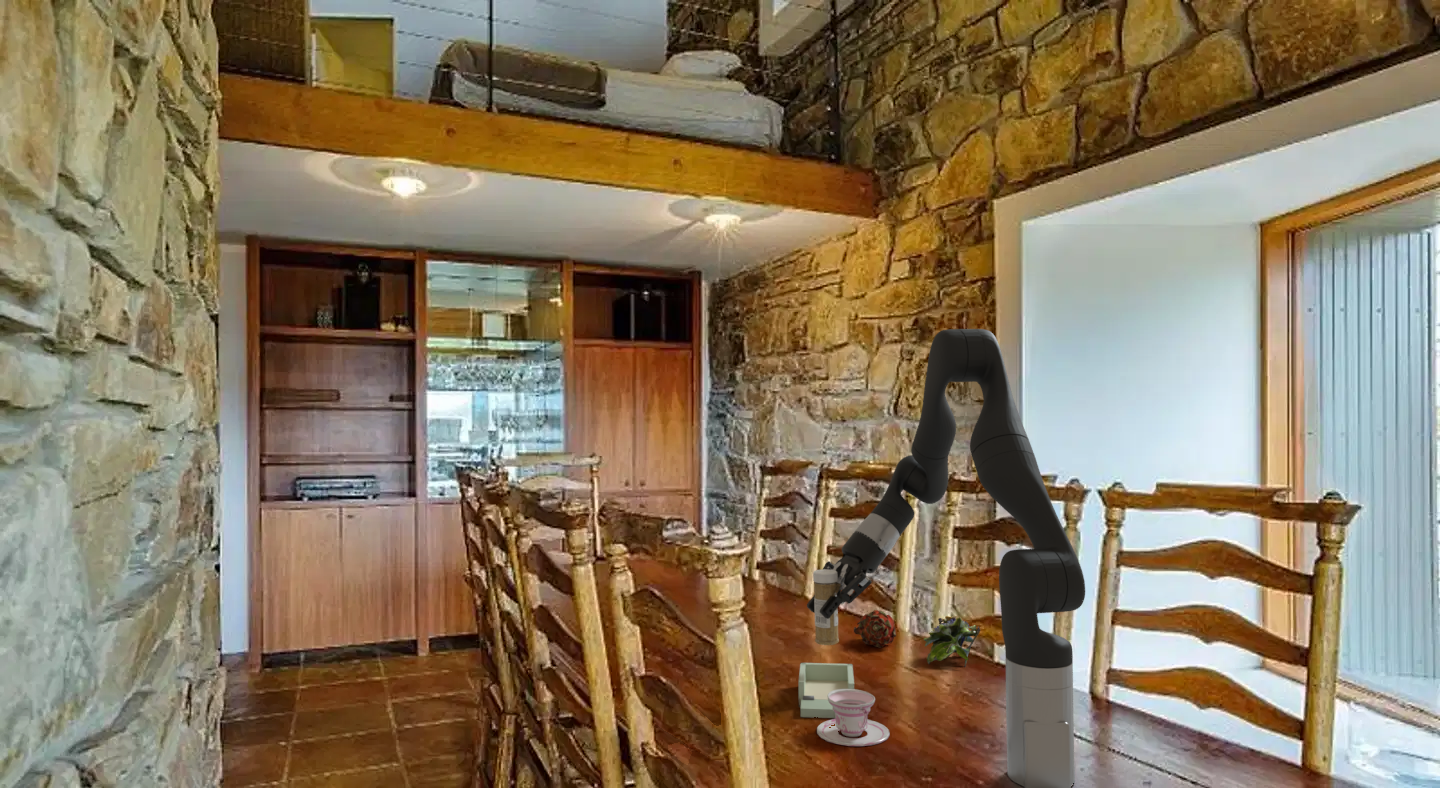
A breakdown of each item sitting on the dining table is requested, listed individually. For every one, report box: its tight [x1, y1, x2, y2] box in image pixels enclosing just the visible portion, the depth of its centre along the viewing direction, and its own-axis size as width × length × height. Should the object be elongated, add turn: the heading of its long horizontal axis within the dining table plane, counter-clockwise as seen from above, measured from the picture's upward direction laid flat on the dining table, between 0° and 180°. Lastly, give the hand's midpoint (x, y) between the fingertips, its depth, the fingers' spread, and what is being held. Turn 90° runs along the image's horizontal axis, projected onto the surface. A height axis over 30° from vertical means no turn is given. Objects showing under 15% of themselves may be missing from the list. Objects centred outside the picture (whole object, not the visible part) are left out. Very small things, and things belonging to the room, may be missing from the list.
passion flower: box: [923, 615, 981, 668], centre depth 185 cm, size 11×11×12 cm
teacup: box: [816, 688, 890, 747], centre depth 146 cm, size 12×12×6 cm
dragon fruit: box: [853, 609, 897, 649], centre depth 199 cm, size 8×8×12 cm
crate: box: [798, 662, 855, 719], centre depth 161 cm, size 17×10×4 cm, turn 173°
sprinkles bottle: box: [812, 568, 840, 646], centre depth 164 cm, size 5×5×14 cm
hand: (817, 612), depth 163 cm, fingers closed on sprinkles bottle, 4 cm apart
